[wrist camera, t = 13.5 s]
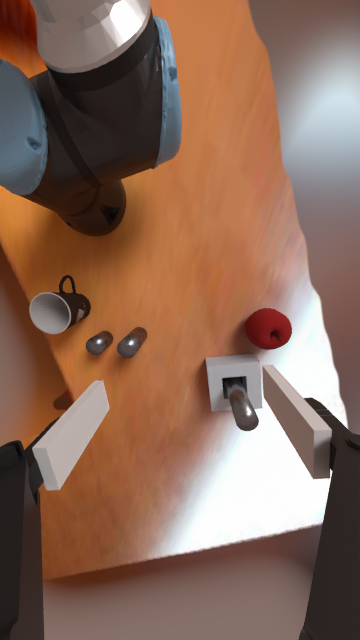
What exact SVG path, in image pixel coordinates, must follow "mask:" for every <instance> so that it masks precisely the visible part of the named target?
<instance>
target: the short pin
mask: <svg viewBox="0 0 360 640" xmlns="http://www.w3.org/2000/svg"><path fill="white" fill-rule="evenodd" d="M112 342H113V336H112V334H111V333H110V332H108V331H102V332H100V333H99V334H97V335H95V336H94V337H92V338H91V339H89V340H88V341H87V342H86V349H87V351H88V352H89V353H91V354H93V355H97V354H100V353H101V352H102V351H103V350H105V349H106V348H107V347H108V346H109V345H110V344H112Z"/></svg>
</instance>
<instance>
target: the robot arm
mask: <svg viewBox="0 0 360 640" xmlns="http://www.w3.org/2000/svg"><path fill="white" fill-rule="evenodd" d="M29 1H30V3H31V5H32V7H33V9H34V10H35V12H36V17H37V44H38V51H39V54H40V56H41V58H42V60H43V62H44V63H45V65H46V67H47V69H48V70H46V71H44V72H42V73H40V74H38V75H35V76H33V77H31V78H29V79H28V77H26V76H25V74H24V73H23V72H22V71H21V70H20V69H19V68H17V67H16V66H14V65H12V64H11V63H10V62H8V61H3V60H2V59H1V58H0V185H1V186H3V187H5V188H6V189H7V190H9V191H10V192H11V193H13V194H16V195H19V196H22V197H24V198H26V199H28V200H30V201H33V202H35V203H37V204H39V205H41V206H44V207H46V208H48V209H50V210H53V211H55V212H57V213H58V214H59V216H60V217H61V218H62V219H63V220H64V221H65V222H66V224H68V225H69V226H70V227H71V228H73V229H74V230H76V231H78V232H80V233H83V234H86V235H89V236H101V235H105V234H107V233H109V232H111V231H112V230H114V229H115V228H116V227H117V226H118V225H119V223H120V222H121V220H122V218H123V216H124V212H125V208H126V194H125V190H124V187H123V184H122V182H121V179H123V178H126V177H129V176H131V175H134V174H137V173H139V172H142V171H145V170H147V169H150V168H151V169H155V168H156V167H157V166H158V165H160V164H162V163H164V162H166V161H169V160H171V159H173V158H174V157H175V156H176V154H177V153H178V151H179V148H180V144H181V134H182V118H181V101H180V90H179V83H178V80H177V68H176V58H175V52H174V46H173V42H172V37H171V33H170V30H169V27H168V24H167V22H166V21H165V19H163V18H159V17H157V16H154V17H153V15H152V9H151V4H150V0H29ZM262 367H263V390H264V398H265V400H266V401H267V403H268V405H269V406H270V408H271V410H272V411H273V413H274V415H275V416H276V418H277V420H278V421H279V423H280V425H281V426H282V428H283V430H284V431H285V433H286V435H287V436H288V438H289V439H290V441H291V443H292V444H293V446H294V448H295V449H296V451H297V453H298V454H299V456H300V458H301V459H302V461H303V463H304V464H305V466H306V468H307V469H308V471H309V473H310V474H311V476H312V478H313V479H323V478H330V468H331V470H332V471H333V472H332V477H331V482H330V488H329V493H328V499H327V504H326V509H325V515H324V520H323V526H322V531H321V537H320V542H319V547H318V553H317V558H316V563H315V569H314V574H313V580H312V586H311V591H310V596H309V602H308V607H307V612H306V618H305V622H304V626H303V629H302V630H301V633H300V636H299V640H360V435H357V434H353V433H351V432H350V431H349V430H348V429H347V428H346V427H345V426H344V425H343V424H342V423H341V422H340V421H339V420H338V419H337V418H336V417H335V416H334V415H332V413H331V412H330V411H329V410H327V408H326V407H325V406H324V405H323V404H321V403H320V402H319V401H317V400H315V399H313V398H302V396H301V395H300V394H299V393H298V392H297V391H296V390H295V389H294V388H293V387H292V386H291V384H290V383H289V382H288V381H287V380H286V379H285V378H284V377H283V376H282V375H281V374H280V372H279V371H278V370H277V369H276V368H275V367H274V366H273V365H265V366H262ZM109 409H110V408H109V404H108V400H107V395H106V391H105V387H104V382H103V380H100V381H94V382H93V383H92V384H91V385H90V386H89V387H88V388H87V389H86V391H85V392H84V393H83V394H82V395H81V396H80V397H79V398H78V399H77V400H76V401H75V402H74V404H73V405H72V406H71V407H70V408H69V409H68V410H67V411H66V412H65V413H64V414H63V415H62V416H61V417H59V418H57V419H56V420H54V421H53V422H52V423H50V424H49V426H48V427H47V428H46V429H45V430H44V431H43V432H42V433H41V434H40V436H38V437H37V438H36V439H35V440H34V441H33V442H32V443H31V444H30V445H29V446H28V447H27V448H26V449H25V450H24V448H23V445H22V443H21V441H18V440H17V441H12V442H9V443H7V444H5V445H3V446H1V447H0V640H44V615H43V583H42V582H43V581H42V548H41V514H40V493H39V490H38V489H39V487H40V486H41V484H42V483H43V482H44V485H45V488H46V490H60V488H61V487H62V485H63V484H64V482H65V480H66V479H67V477H68V476H69V474H70V472H71V471H72V469H73V467H74V466H75V464H76V463H77V461H78V459H79V458H80V456H81V454H82V453H83V451H84V450H85V448H86V446H87V445H88V443H89V441H90V440H91V438H92V437H93V435H94V433H95V432H96V430H97V428H98V427H99V425H100V424H101V422H102V420H103V419H104V417H105V415H106V414H107V412H108V411H109Z"/></svg>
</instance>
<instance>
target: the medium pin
mask: <svg viewBox="0 0 360 640" xmlns="http://www.w3.org/2000/svg"><path fill="white" fill-rule="evenodd" d="M146 338H147V332H146V330H145V329H143V328H141V327H137V328H135V329H133V330H132V331H131V332H130V333H129V334H128V335H127V336H126V337H125V338H124V339H123V340H121V341H120V342H119V344H118V346H117V351H118V353H119V354H120V355H121V356H122V357H124V358H131V357H133V356H134V355H135V354H136V352H137V351H138V349H139V348H140V347H141V345H142V344H143V343H144V341H145V340H146Z"/></svg>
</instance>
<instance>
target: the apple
mask: <svg viewBox="0 0 360 640" xmlns="http://www.w3.org/2000/svg"><path fill="white" fill-rule="evenodd" d="M246 334H247V336H248V338H249V339H250V341H251V342H252V343H253V344H254V345H256V346H258V347H259V348H261V349H266V350H270V349H276V348H279V347H281V346H283V345H285V344H286V343H287V342H288V341H289V339H290V337H291V334H292V327H291V323H290V321H289V319H288V318H287V317H286V316H285V315H284V314H282V313H280V312H278V311H276V310H275V309H270V308H265V309H260V310H258V311H256V312H254V313H253V314H252V315H251V316H250V317H249V318H248V320H247V322H246Z"/></svg>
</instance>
